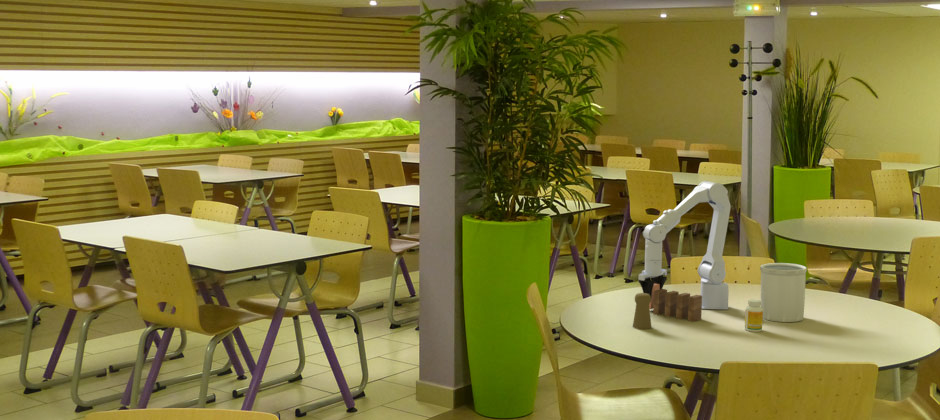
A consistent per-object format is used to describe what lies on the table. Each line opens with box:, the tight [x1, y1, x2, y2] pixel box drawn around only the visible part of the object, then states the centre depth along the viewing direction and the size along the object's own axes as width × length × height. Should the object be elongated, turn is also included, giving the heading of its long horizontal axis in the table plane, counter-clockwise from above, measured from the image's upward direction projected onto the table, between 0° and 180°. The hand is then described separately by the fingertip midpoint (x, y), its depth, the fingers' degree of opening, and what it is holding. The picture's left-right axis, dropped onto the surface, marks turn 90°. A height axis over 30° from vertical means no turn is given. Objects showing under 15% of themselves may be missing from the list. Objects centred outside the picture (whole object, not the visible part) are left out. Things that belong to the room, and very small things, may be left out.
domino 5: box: [687, 294, 703, 322], centre depth 328 cm, size 2×5×8 cm, turn 136°
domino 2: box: [653, 288, 668, 316], centre depth 337 cm, size 2×5×8 cm, turn 136°
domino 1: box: [649, 283, 660, 310], centre depth 341 cm, size 2×5×8 cm, turn 135°
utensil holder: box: [759, 262, 808, 323], centre depth 331 cm, size 15×15×18 cm
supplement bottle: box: [744, 298, 763, 333], centre depth 314 cm, size 5×5×10 cm
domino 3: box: [664, 290, 680, 318], centre depth 334 cm, size 2×5×8 cm, turn 136°
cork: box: [632, 292, 652, 330], centre depth 318 cm, size 6×6×11 cm
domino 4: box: [675, 292, 691, 320], centre depth 331 cm, size 2×5×8 cm, turn 136°
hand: (652, 298), depth 342 cm, fingers closed on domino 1, 5 cm apart
